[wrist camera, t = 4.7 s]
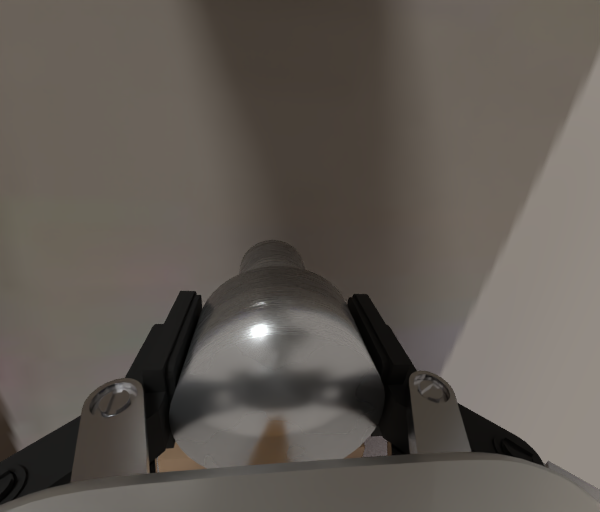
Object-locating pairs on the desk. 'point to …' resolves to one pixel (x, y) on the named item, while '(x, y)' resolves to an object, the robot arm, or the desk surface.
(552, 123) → the desk surface
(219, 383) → the silver rounded cylinder
